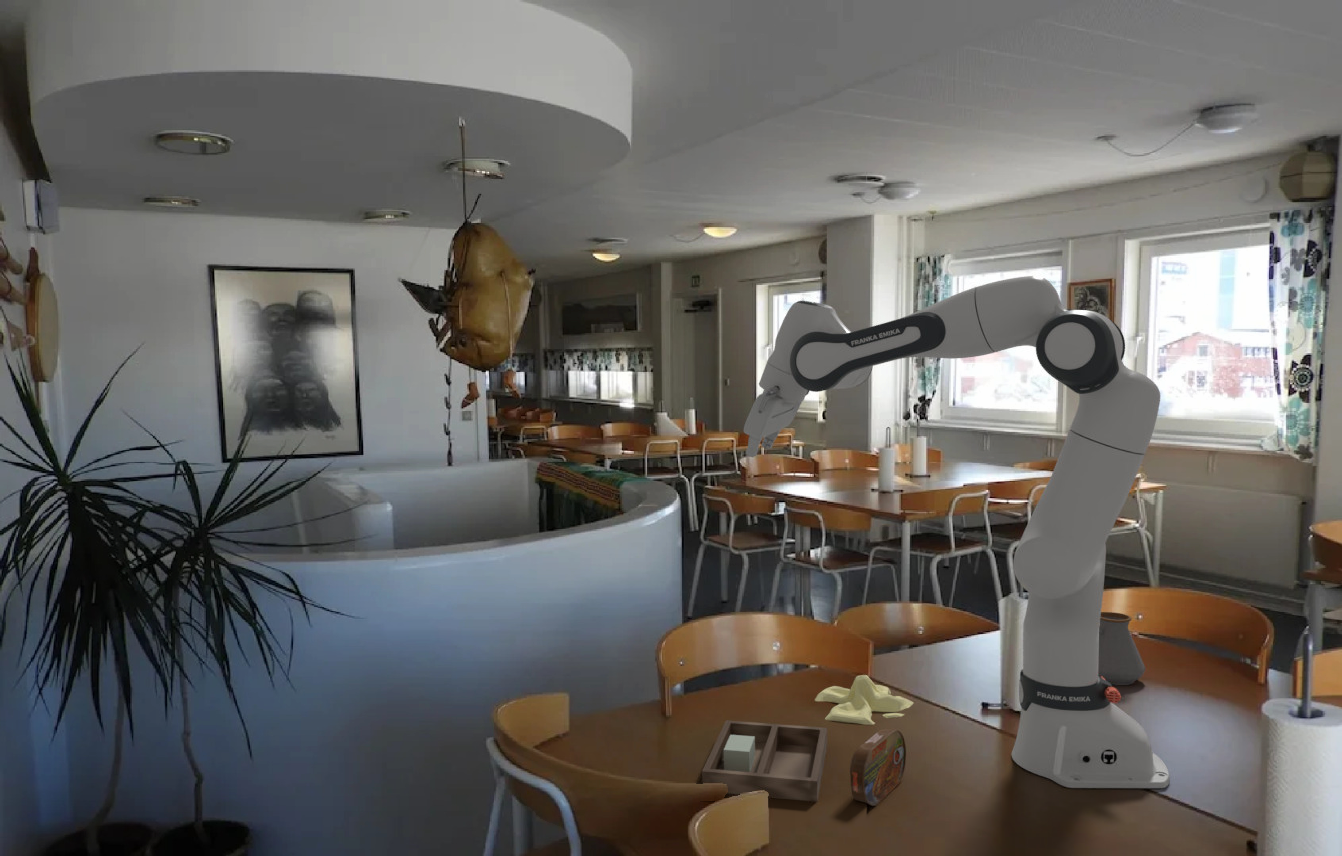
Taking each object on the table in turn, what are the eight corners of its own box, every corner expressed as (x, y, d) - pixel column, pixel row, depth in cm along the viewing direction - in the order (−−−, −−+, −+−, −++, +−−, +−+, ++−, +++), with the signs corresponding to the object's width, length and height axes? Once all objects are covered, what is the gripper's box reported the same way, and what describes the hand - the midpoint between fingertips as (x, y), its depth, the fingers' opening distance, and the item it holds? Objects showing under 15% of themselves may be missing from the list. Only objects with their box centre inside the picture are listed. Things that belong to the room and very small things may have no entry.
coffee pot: (1115, 667, 190) (1116, 596, 189) (1158, 685, 179) (1159, 610, 178) (1028, 677, 184) (1028, 605, 183) (1066, 697, 173) (1067, 620, 172)
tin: (866, 815, 129) (866, 757, 129) (846, 809, 131) (845, 752, 131) (908, 776, 141) (908, 723, 141) (889, 771, 143) (889, 719, 142)
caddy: (827, 751, 151) (826, 727, 150) (817, 808, 131) (817, 781, 131) (726, 743, 155) (726, 720, 155) (702, 797, 135) (702, 771, 135)
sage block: (755, 757, 146) (754, 736, 146) (749, 773, 141) (749, 751, 140) (730, 755, 147) (730, 734, 147) (724, 771, 142) (723, 749, 141)
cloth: (837, 733, 160) (836, 698, 159) (796, 696, 178) (796, 666, 177) (949, 718, 165) (949, 685, 165) (899, 685, 183) (899, 655, 183)
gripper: (783, 396, 157) (756, 468, 161) (813, 385, 175) (788, 450, 179) (751, 382, 159) (724, 453, 163) (784, 373, 177) (759, 437, 181)
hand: (758, 451), depth 171 cm, fingers open, 8 cm apart
